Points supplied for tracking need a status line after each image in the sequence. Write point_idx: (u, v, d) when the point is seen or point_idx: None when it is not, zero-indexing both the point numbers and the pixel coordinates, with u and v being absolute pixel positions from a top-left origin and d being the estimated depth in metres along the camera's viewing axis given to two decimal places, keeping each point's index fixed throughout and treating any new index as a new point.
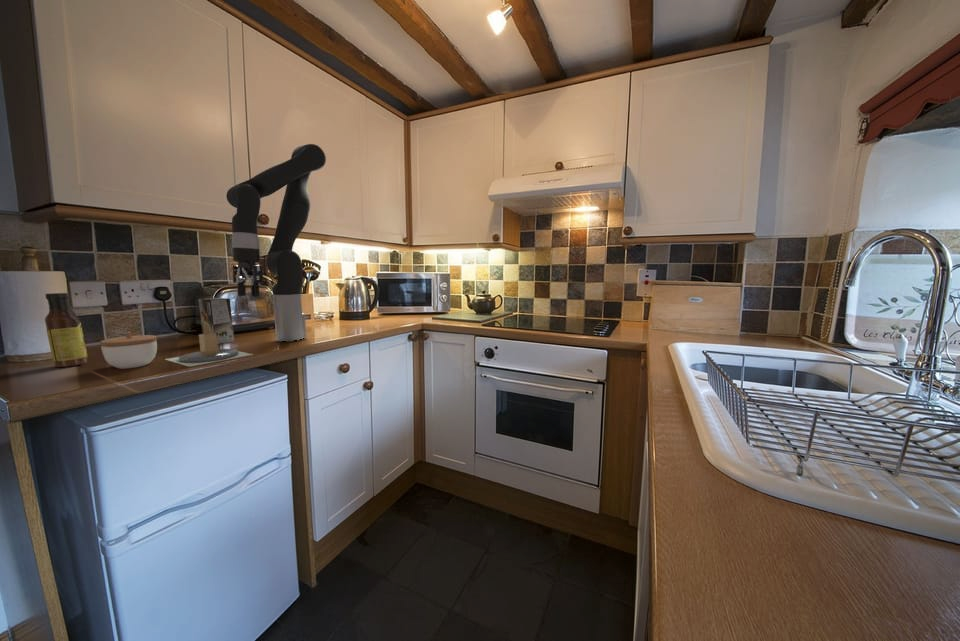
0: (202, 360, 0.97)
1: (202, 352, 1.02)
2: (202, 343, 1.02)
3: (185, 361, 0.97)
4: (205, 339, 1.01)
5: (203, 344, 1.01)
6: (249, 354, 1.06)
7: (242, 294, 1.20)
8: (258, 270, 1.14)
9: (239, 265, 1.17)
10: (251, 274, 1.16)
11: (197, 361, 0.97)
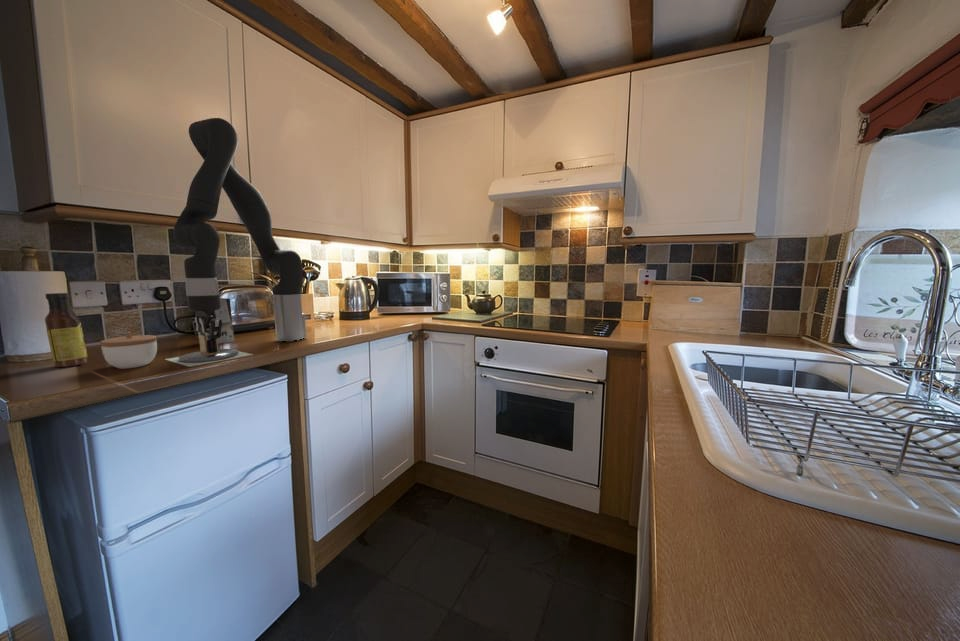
0: (202, 360, 0.97)
1: (202, 352, 1.02)
2: (202, 343, 1.02)
3: (185, 361, 0.97)
4: (205, 339, 1.01)
5: (203, 344, 1.01)
6: (249, 354, 1.06)
7: None
8: (216, 326, 0.99)
9: (196, 313, 1.02)
10: None
11: (197, 361, 0.97)
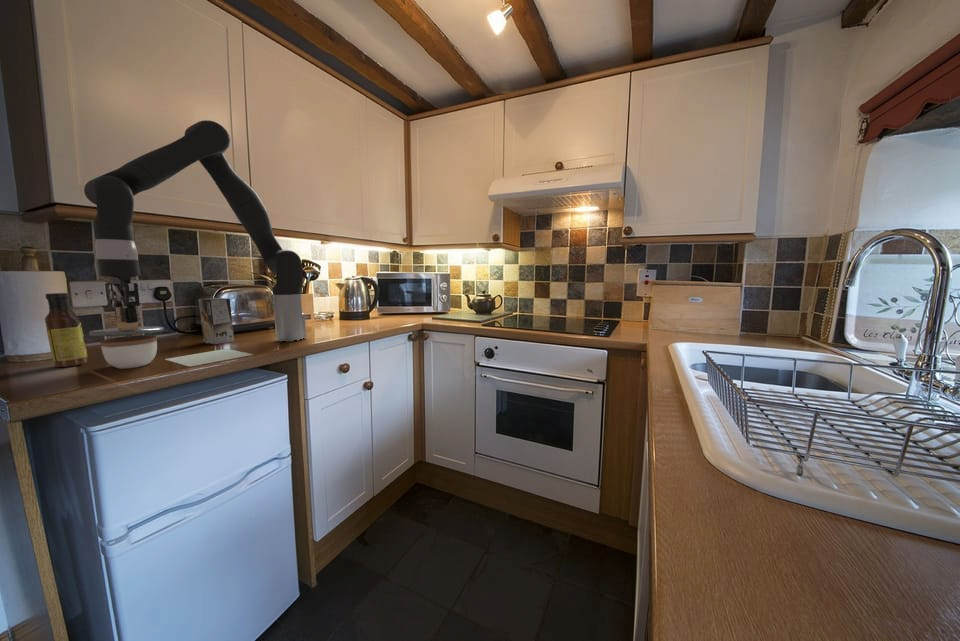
0: (113, 333, 0.87)
1: (119, 327, 0.92)
2: (118, 316, 0.91)
3: (94, 334, 0.86)
4: (121, 312, 0.90)
5: (119, 317, 0.91)
6: (249, 354, 1.06)
7: None
8: (131, 290, 0.88)
9: (111, 280, 0.91)
10: None
11: (107, 334, 0.86)
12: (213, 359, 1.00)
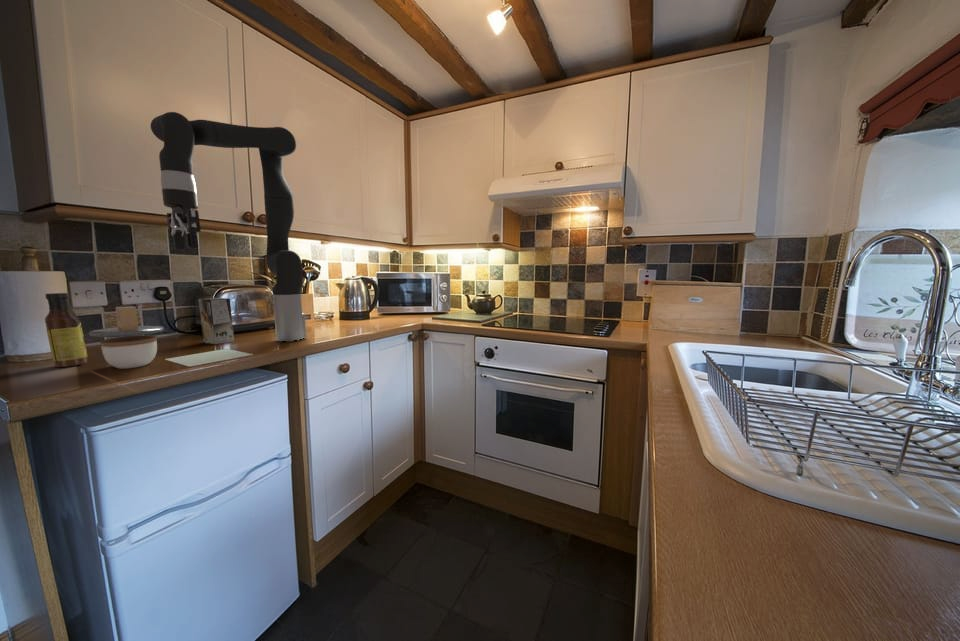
0: (113, 334, 0.87)
1: (119, 327, 0.92)
2: (118, 317, 0.91)
3: (94, 335, 0.86)
4: (121, 312, 0.90)
5: (119, 317, 0.91)
6: (249, 354, 1.06)
7: (180, 247, 1.03)
8: (193, 216, 0.96)
9: (173, 212, 1.00)
10: (186, 221, 0.98)
11: (107, 335, 0.86)
12: (213, 359, 1.00)
